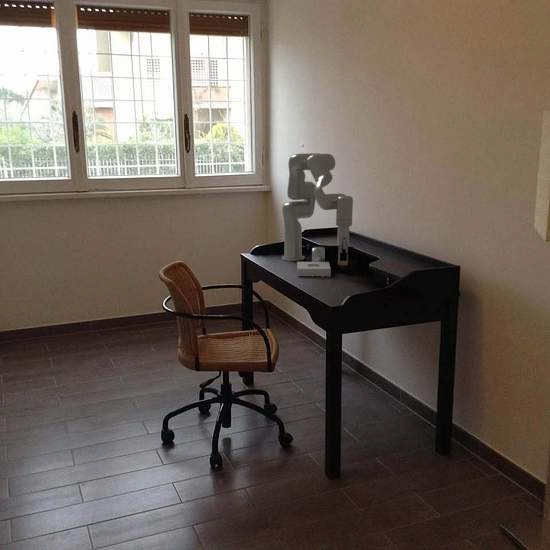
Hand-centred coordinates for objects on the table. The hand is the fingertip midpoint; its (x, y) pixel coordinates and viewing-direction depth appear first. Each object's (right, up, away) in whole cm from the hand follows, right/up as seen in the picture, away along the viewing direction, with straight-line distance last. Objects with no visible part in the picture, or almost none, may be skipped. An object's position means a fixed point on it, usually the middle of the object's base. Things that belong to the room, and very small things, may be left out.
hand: (342, 259), depth 304 cm
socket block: (-13, -7, +12) cm, 19 cm away
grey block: (-10, -3, +25) cm, 27 cm away
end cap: (+3, -6, +14) cm, 15 cm away
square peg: (0, -2, +1) cm, 2 cm away
